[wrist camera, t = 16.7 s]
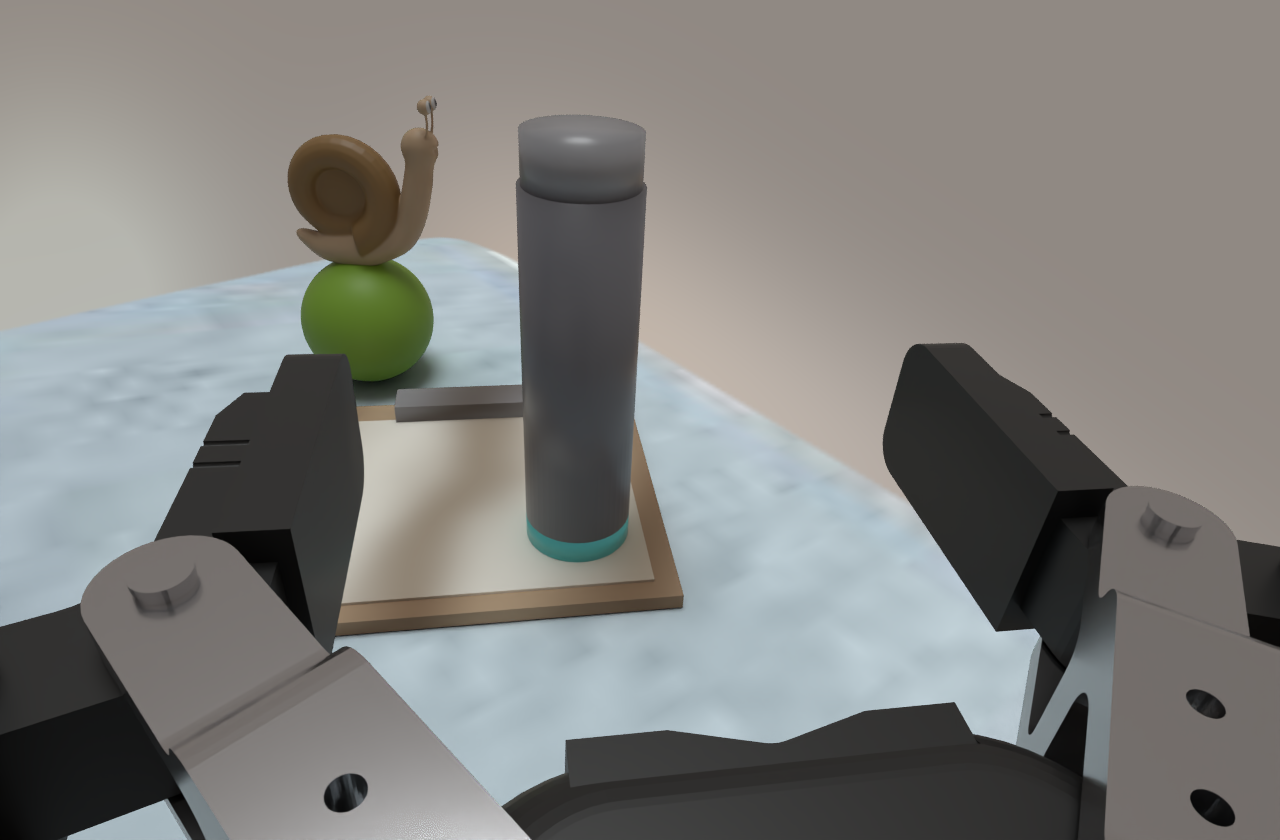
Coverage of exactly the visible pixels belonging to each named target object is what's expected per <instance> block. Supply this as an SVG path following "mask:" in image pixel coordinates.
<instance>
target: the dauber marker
mask: <svg viewBox="0 0 1280 840" xmlns="http://www.w3.org/2000/svg"><path fill="white" fill-rule="evenodd" d="M518 138H519V171H520V172H519V173H520V178H519V179H518V180H517V181H516V201H517V203H516V204H517V233H518V235H517V236H518V268H519V300H520V332H521V363H522V395H523V427H524V459H525V491H526V523H527V535H528V538H529V540H530V542H531V544H532V545H533V546H534V547H535V548H536V549H537V550H538V551H540V552H541V553H543V554H544V555H546V556H548V557H551V558H554V559H557V560H561V561H566V562H588V561H594V560H598V559H601V558H603V557H606V556H608V555H610V554H612V553H613V552H615V551H616V550H617V549H618V548H619V547H620V546H621V545H622V544H623V543H624V541H625V539H626V537H627V534H628V520H629V501H630V483H631V465H632V447H633V429H634V411H635V393H636V375H637V357H638V339H639V319H640V301H641V284H642V266H643V248H644V229H645V211H646V194H647V187H646V184H645V183H644V182H643V178H644V159H645V141H646V131H645V130H644V129H643V128H642V127H641V126H639V125H637V124H634V123H631V122H628V121H624V120H621V119H615V118H609V117H601V116H592V115H554V116H545V117H539V118H534V119H530V120H527V121H525V122H523V123H521V124H520V125H519V127H518Z"/></svg>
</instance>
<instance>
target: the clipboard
mask: <svg viewBox="0 0 1280 840" xmlns="http://www.w3.org/2000/svg"><path fill="white" fill-rule="evenodd" d="M356 408H357V414H358V421H359V428H360V434H361V441H362V447H363V456H364V488H363V496H362V501H361V506H360V511H359V516H358V522H357V527H356V532H355V537H354V542H353V547H352V552H351V557H350V562H349V567H348V573H347V578H346V583H345V588H344V593H343V598H342V603H341V608H340V613H339V619H338V624H337V629H336V634H335V636H339V635H351V634H363V633H376V632H388V631H400V630H412V629H424V628H436V627H448V626H460V625H472V624H484V623H497V622H509V621H521V620H533V619H545V618H557V617H569V616H581V615H593V614H605V613H618V612H630V611H642V610H654V609H666V608H678V607H683V597H684V595H683V591H682V588H681V584H680V581H679V577H678V573H677V570H676V566H675V563H674V559H673V556H672V552H671V548H670V545H669V541H668V538H667V534H666V531H665V527H664V523H663V520H662V516H661V513H660V509H659V505H658V502H657V498H656V495H655V491H654V488H653V484H652V480H651V477H650V473H649V470H648V466H647V463H646V459H645V455H644V452H643V448H642V445H641V441H640V438H639V434H638V430H637V427H636V423H635V420H634V429H633V447H632V465H631V483H630V501H629V520H628V534H627V537H626V539H625V541H624V543H623V544H622V545H621V546H620V547H619V548H618V549H617V550H616V551H615V552H613V553H612V554H610V555H608V556H606V557H603V558H601V559H598V560H594V561H588V562H566V561H561V560H557V559H554V558H551V557H548V556H546V555H544V554H543V553H541V552H540V551H538V550H537V549H536V548H535V547H534V546H533V545H532V544H531V542H530V540H529V538H528V535H527V523H526V491H525V459H524V427H523V395H522V385H500V386H473V387H447V388H420V389H397V395H396V401H395V405H384V406H359V407H356Z"/></svg>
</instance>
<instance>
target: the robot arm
mask: <svg viewBox="0 0 1280 840" xmlns="http://www.w3.org/2000/svg"><path fill="white" fill-rule="evenodd" d="M1069 431H1070V430H1069V429H1068V428H1067V427H1066V426H1065V425H1064V424H1063V423H1062V422H1060V420H1058V419H1057V418H1056V417H1053V418H1052V413H1051V412H1050V411H1049V410H1048V409H1047V408H1046V407H1045V406H1044V405H1043V404H1042V403H1041V402H1040V401H1039V400H1038V399H1037V398H1035V397H1034V396H1033V395H1032V394H1031V393H1030V392H1028V391H1027V390H1025V389H1023V388H1022V387H1020V386H1018V385H1016V384H1015V383H1013V382H1011V381H1009V380H1007V379H1006V378H1004V377H1002V376H1000V375H999V374H998V373H997V372H996V371H995V370H994V369H993V368H992V367H991V366H990V365H989V364H988V363H987V362H986V361H985V360H984V359H983V358H982V357H981V356H980V355H979V354H978V353H976V351H974V349H973V348H971V347H970V346H969V345H967V344H964V343H946V344H916V345H914V346H912V347H911V348H910V349H909V350H908V352H907V353H906V356H905V358H904V361H903V364H902V368H901V372H900V375H899V379H898V382H897V386H896V390H895V393H894V397H893V401H892V404H891V408H890V411H889V415H888V419H887V423H886V426H885V430H884V435H883V453H884V459H885V463H886V466H887V468H888V470H889V472H890V474H891V475H892V477H893V478H894V480H895V481H896V483H897V484H898V486H899V487H900V489H901V490H902V492H903V493H904V495H905V496H906V498H907V499H908V501H909V502H910V504H911V505H912V507H913V508H914V510H915V511H916V513H917V514H918V516H919V517H920V519H921V520H922V522H923V523H924V525H925V526H926V528H927V529H928V531H929V532H930V534H931V535H932V537H933V538H934V540H935V541H936V543H937V544H938V546H939V547H940V549H941V550H942V552H943V553H944V555H945V556H946V558H947V559H948V561H949V562H950V564H951V565H952V567H953V568H954V569H955V571H956V572H957V574H958V575H959V577H960V578H961V580H962V581H963V583H964V584H965V586H966V587H967V589H968V590H969V592H970V593H971V595H972V596H973V598H974V599H975V601H976V602H977V604H978V605H979V607H980V608H981V610H982V611H983V613H984V614H985V616H986V617H987V619H988V620H989V622H990V623H991V625H992V626H993V628H994V629H995V631H996V632H998V631H1010V630H1022V629H1034V628H1035V629H1036V631H1037V632H1038V633H1039V635H1040V637H1039V639H1038V641H1037V643H1036V645H1035V647H1034V649H1033V652H1032V655H1031V659H1030V665H1029V670H1028V676H1027V682H1026V688H1025V694H1024V700H1023V706H1022V712H1021V718H1020V724H1019V730H1018V736H1017V742H1016V745H1013V744H1010V743H1008V742H1005V741H1001V740H996V739H992V738H988V737H984V736H980V735H975V734H972V732H971V730H970V729H969V727H968V725H967V723H966V722H965V720H964V718H963V716H962V714H961V713H960V711H959V709H958V707H957V706H956V704H955V702H952V703H942V704H932V705H921V706H911V707H901V708H890V709H880V710H870V711H864V712H861V713H858V714H856V715H853V716H850V717H848V718H845V719H842V720H840V721H837V722H834V723H832V724H829V725H827V726H824V727H821V728H819V729H816V730H813V731H811V732H808V733H805V734H803V735H800V736H798V737H795V738H792V739H790V740H787V741H784V742H780V743H760V742H752V741H745V740H737V739H730V738H722V737H715V736H707V735H699V734H692V733H684V732H677V731H669V730H665V731H654V732H644V733H634V734H623V735H613V736H603V737H593V738H582V739H572V740H566V750H565V773H564V774H562V775H559V776H557V777H554V778H551V779H549V780H546V781H544V782H542V783H540V784H538V785H536V786H535V787H533V788H531V789H529V790H527V791H525V792H523V793H521V794H519V795H518V796H516V797H515V798H513V799H512V800H510V801H509V802H507V803H506V804H504V805H503V806H500V805H499V804H498V803H497V802H496V800H495V799H494V798H493V797H492V796H491V795H490V794H489V793H488V792H487V791H486V790H485V788H484V787H483V786H482V785H481V784H480V783H479V782H478V781H477V780H476V779H475V778H474V776H473V775H472V774H471V773H470V772H469V771H468V770H467V769H466V768H465V767H464V766H463V765H462V763H461V762H460V761H459V760H458V759H457V758H456V757H455V756H454V755H453V754H452V753H451V751H450V750H449V749H448V748H447V747H446V746H445V745H444V744H443V743H442V742H441V741H440V739H439V738H438V737H437V736H436V735H435V734H434V733H433V732H432V731H431V730H430V729H429V727H428V726H427V725H426V724H425V723H424V722H423V721H422V720H421V719H420V718H419V717H418V715H417V714H416V713H415V712H414V711H413V710H412V709H411V708H410V707H409V706H408V705H407V704H406V702H405V701H404V700H403V699H402V698H401V697H400V696H399V695H398V694H397V693H396V692H395V690H394V689H393V688H392V687H391V686H390V685H389V684H388V683H387V682H386V681H385V680H384V678H383V677H382V676H381V675H380V674H379V673H378V672H377V671H376V670H375V669H374V668H373V666H372V665H371V664H370V663H369V662H368V661H367V660H366V659H365V658H364V657H363V656H362V655H361V654H360V653H358V652H357V651H356V650H354V649H352V648H351V647H347V646H346V647H342V648H341V649H339V650H337V651H335V652H334V653H332V649H333V644H334V639H335V634H336V629H337V624H338V619H339V613H340V608H341V603H342V598H343V593H344V588H345V583H346V578H347V573H348V567H349V562H350V557H351V552H352V547H353V542H354V537H355V532H356V527H357V522H358V516H359V511H360V506H361V501H362V496H363V488H364V456H363V447H362V441H361V434H360V428H359V421H358V414H357V408H356V401H355V394H354V388H353V381H352V375H351V369H350V364H349V361H348V358H347V356H346V354H297V355H286V356H285V357H284V359H283V361H282V363H281V366H280V368H279V370H278V373H277V375H276V378H275V380H274V382H273V385H272V387H271V390H270V392H257V393H243V394H242V395H241V396H240V397H238V398H237V399H236V400H235V401H233V402H232V403H231V404H230V405H228V406H227V407H226V408H225V409H223V410H222V411H221V412H220V413H219V414H217V415H216V417H215V419H214V421H213V423H212V425H211V427H210V429H209V431H208V433H207V435H206V437H205V439H204V441H203V442H204V446H201V447H200V449H199V451H198V453H197V455H196V457H195V459H194V461H193V468H190V469H189V471H188V473H187V475H186V478H185V480H184V482H183V484H182V486H181V488H180V490H179V492H178V494H177V496H176V498H175V500H174V502H173V504H172V506H171V508H170V510H169V512H168V514H167V516H166V518H165V520H164V522H163V524H162V526H161V528H160V530H159V532H158V534H157V536H156V538H155V540H154V542H150V543H148V544H145V545H142V546H140V547H137V548H135V549H133V550H131V551H129V552H127V553H125V554H123V555H122V556H120V557H118V558H117V559H115V560H113V561H112V562H111V563H109V564H108V565H107V566H105V567H104V568H103V569H102V570H101V571H100V572H99V573H98V574H97V575H96V576H95V577H94V578H93V579H92V581H91V582H90V583H89V585H88V586H87V588H86V590H85V592H84V594H83V596H82V600H81V603H80V604H77V605H75V606H72V607H69V608H66V609H63V610H60V611H57V612H53V613H50V614H46V615H42V616H39V617H35V618H31V619H28V620H24V621H20V622H16V623H13V624H9V625H5V626H2V627H0V840H67V837H68V836H69V835H71V834H74V833H77V832H79V831H82V830H85V829H87V828H90V827H93V826H95V825H98V824H101V823H103V822H106V821H109V820H111V819H114V818H117V817H120V816H122V815H125V814H128V813H130V812H133V811H136V810H138V809H141V808H144V807H146V806H149V805H152V804H154V803H157V802H160V801H162V800H164V801H165V802H166V804H167V806H168V808H169V809H170V811H171V813H172V814H173V816H174V818H175V819H176V821H177V823H178V825H179V826H180V828H181V830H182V831H183V833H184V835H185V836H186V838H187V840H1280V547H1277V546H1271V545H1265V544H1259V543H1252V542H1247V541H1240V540H1236V537H1235V536H1234V534H1233V532H1232V531H1231V530H1230V528H1229V527H1228V526H1227V525H1226V524H1225V523H1224V522H1223V521H1222V520H1221V519H1220V518H1219V517H1218V516H1216V515H1215V514H1214V513H1212V512H1211V511H1209V510H1208V509H1206V508H1205V507H1203V506H1201V505H1200V504H1198V503H1196V502H1194V501H1192V500H1189V499H1187V498H1185V497H1183V496H1180V495H1178V494H1175V493H1172V492H1169V491H1165V490H1161V489H1157V488H1152V487H1144V486H1127V485H1126V484H1125V483H1124V482H1123V481H1122V480H1121V479H1120V478H1119V477H1118V476H1117V475H1116V474H1115V473H1114V472H1113V471H1111V470H1110V469H1109V468H1108V467H1107V466H1106V465H1105V464H1104V463H1103V462H1102V461H1101V460H1100V459H1099V458H1098V457H1097V456H1096V455H1095V454H1094V453H1093V452H1092V451H1091V450H1090V449H1089V448H1087V446H1086V445H1084V444H1083V443H1082V442H1081V441H1080V440H1079V439H1078V438H1077V437H1076V436H1075V435H1070V433H1069Z"/></svg>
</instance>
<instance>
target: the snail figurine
mask: <svg viewBox="0 0 1280 840" xmlns="http://www.w3.org/2000/svg"><path fill="white" fill-rule="evenodd" d="M436 106H437V103H436V100H435V98H434V97H432V96H426V97H425V98H424V99H423V100H420V101H419V102H418V103H417V110H418V112H419V113H421V114H423V115H424V116H425V120H426V129H424V128H413V129H411V130H409V131H407V132H406V133H405V134H404V136H403V138H402V141H401V151H402V153H403V156H404V159H405V173H404V180H403V186H402V192H401V193H400V189H399V185H398V183H397V180H396V177H395V175H394V173H393V172H392V170H391V168H390V167H389V165H388V164H387V163H386V161H385V160H384V159H383V158H382V157H381V156H380V154H378V153H377V152H376V151H375V150H374V149H372V148H371V147H370V146H368V145H366V144H365V143H363V142H361V141H359V140H357V139H354V138H352V137H349V136H344V135H338V134H333V135H321V136H319V137H315V138H312V139H310V140H308V141H307V142H305V143H304V144H303V145H302V146H301V147H300V148H299V149H298V150H297V151H296V152H295V154H294V156H293V158H292V159H291V162H290V165H289V169H288V187H289V192H290V195H291V198H292V201H293V203H294V205H295V206H296V208H297V210H298V211H299V213H300V214H301V215H302V216H303V217H304V218H305V219H306V220H307V221H308V222H309V223H310V224H311V225H312V226H313V227H315V228H316V229H317V230H318V231H315V230H311V229H304V228H302V229H298V230H297V236H298V237H299V239H300V240H301V241H302V242H303V243H304V244H305V245H306V246H307V247H308V248H310V249H311V250H312V251H313V252H314V253H316V254H317V255H318V256H320V257H322V258H323V259H326V260H329V261H332V262H333V263H331V264H329V265H328V266H326V267H325V268H324V269H322V270H321V271H320V272H319V273H318V274H317V275H316V276H315V277H314V279H313V280H312V281H311V283H310V284H309V286H308V288H307V290H306V292H305V295H304V298H303V301H302V307H301V324H302V329H303V333H304V336H305V339H306V341H307V343H308V345H309V347H310V349H311V350H312V352H313V353H314V354H346V356H347V358H348V361H349V364H350V369H351V375H352V379H354V380H359V381H380V380H385V379H389V378H392V377H395V376H397V375H399V374H401V373H403V372H405V371H406V370H408V369H409V368H410V367H412V366H413V365H414V364H415V363H416V362H417V361H418V360H419V359H420V358H421V356H422V355H423V353H424V352H425V350H426V348H427V346H428V344H429V342H430V339H431V336H432V331H433V321H434V320H433V309H432V305H431V301H430V299H429V296H428V294H427V292H426V290H425V288H424V287H423V285H422V284H421V282H420V281H419V280H418V278H417V277H416V276H415V275H414V274H413V273H412V272H410V271H409V270H408V269H407V268H405V267H404V266H402V265H401V264H399V263H397V262H395V261H393V260H392V259H395V258H397V257H399V256H401V255H403V254H405V253H406V252H408V251H409V250H410V249H411V248H412V247H413V246H414V245H415V244H416V242H417V241H418V239H419V237H420V235H421V233H422V231H423V228H424V226H425V223H426V219H427V216H428V211H429V206H430V199H431V192H432V186H433V169H434V164H435V162H436V159H437V157H438V149H437V146H438V141H437V139H436V137H435V136H434V135H433V110H435V109H436ZM429 113H431V131H428V121H427V115H428V114H429Z"/></svg>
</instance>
